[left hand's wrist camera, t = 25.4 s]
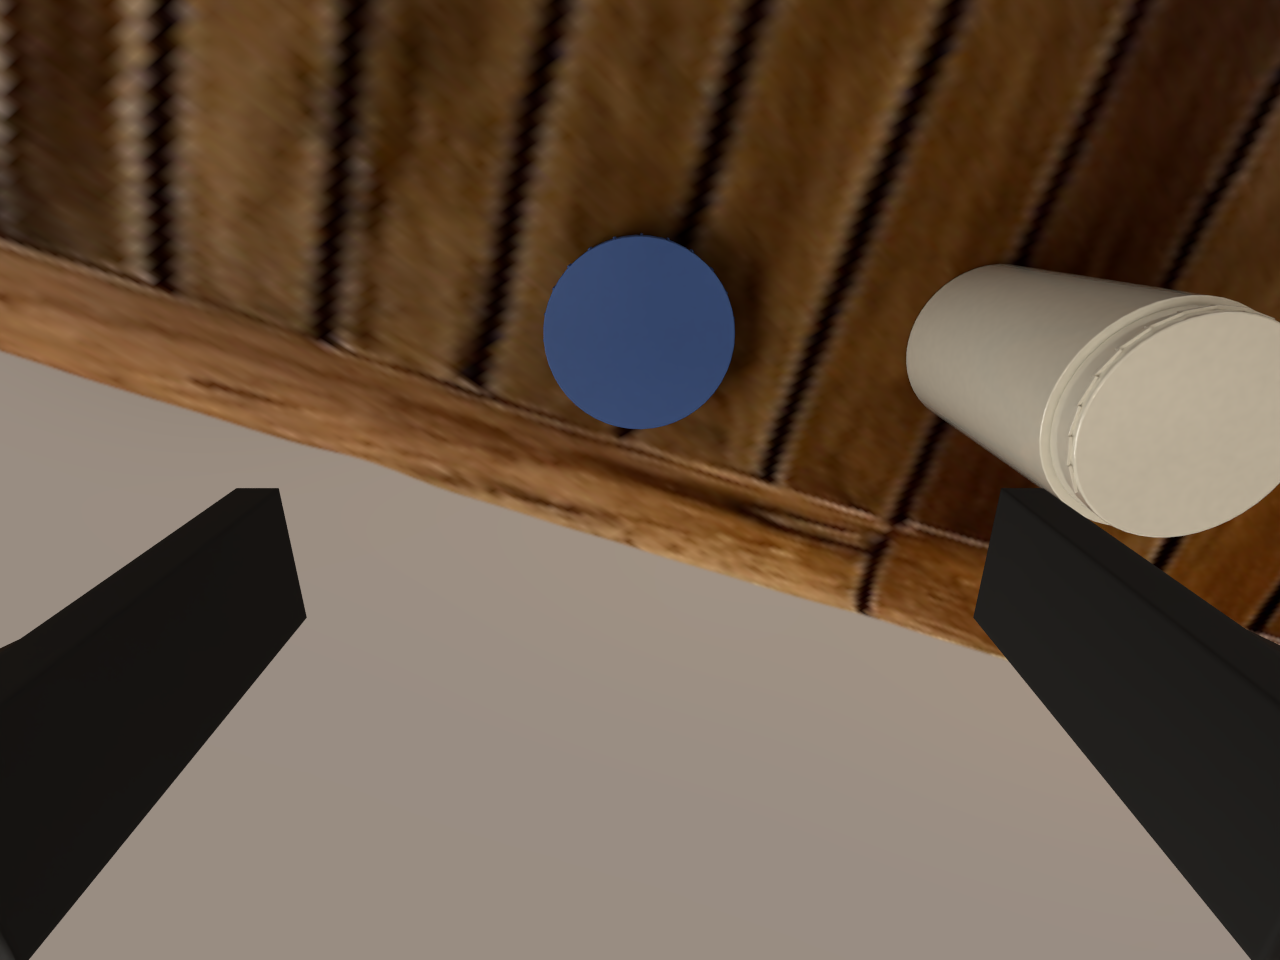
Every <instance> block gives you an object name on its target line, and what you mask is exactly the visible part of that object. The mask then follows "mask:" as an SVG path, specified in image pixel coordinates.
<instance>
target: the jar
mask: <svg viewBox="0 0 1280 960" xmlns="http://www.w3.org/2000/svg"><path fill="white" fill-rule="evenodd" d="M906 364H907V372H908V376H909V380H910V383H911V385H912V388H913V390H914V392H915V393H916V395H917V397H918V398H919V400H920V401H921V402H922V403H923V404H924V405H925V406H926V407H927V408H928V409H929V410H930V411H932V412H933V413H934V414H936V415H937V416H939V417H940V418H942V419H943V420H944V421H946V422H947V423H949V424H950V425H952V426H953V427H954V428H956V429H957V430H959V431H960V432H962V433H963V434H964V435H966V436H967V437H969V438H970V439H971V440H973V441H974V442H976V443H977V444H979V445H980V446H981V447H983V448H984V449H986V450H987V451H989V452H990V453H991V454H993V455H994V456H996V457H997V458H999V459H1000V460H1001V461H1003V462H1004V463H1006V464H1007V465H1009V466H1010V467H1011V468H1013V469H1014V470H1016V471H1017V472H1019V473H1020V474H1021V475H1023V476H1024V477H1026V478H1027V479H1029V480H1030V481H1031V482H1033V483H1034V484H1036V485H1037V486H1039V487H1040V488H1044V489H1045V490H1047V491H1048V492H1050V493H1051V494H1052V495H1054V496H1055V497H1057V498H1058V499H1060V500H1061V501H1062V502H1064V503H1065V504H1067V505H1068V506H1070V507H1071V508H1073V509H1074V510H1075V511H1077V512H1078V513H1080V514H1081V515H1083V516H1084V517H1085V518H1088V519H1090V520H1092V521H1095V522H1099V523H1103V524H1106V525H1111V526H1113V527H1115V528H1118V529H1120V530H1122V531H1125V532H1128V533H1132V534H1135V535H1140V536H1148V537H1175V536H1184V535H1188V534H1193V533H1197V532H1201V531H1204V530H1207V529H1210V528H1213V527H1215V526H1218V525H1220V524H1222V523H1225V522H1227V521H1229V520H1231V519H1233V518H1234V517H1236V516H1238V515H1240V514H1242V513H1243V512H1245V511H1246V510H1248V509H1249V508H1251V507H1252V506H1254V505H1255V504H1257V503H1258V502H1259V501H1260V500H1262V499H1263V498H1264V497H1265V496H1266V495H1268V494H1269V493H1270V492H1271V491H1272V490H1273V489H1274V488H1275V487H1276V486H1277V485H1278V484H1279V483H1280V322H1278V321H1276V320H1275V318H1272V317H1270V316H1267V315H1265V314H1262V313H1259V312H1257V311H1254V310H1253V309H1251V308H1249V307H1247V306H1245V305H1243V304H1241V303H1239V302H1237V301H1233V300H1230V299H1227V298H1223V297H1217V296H1211V295H1204V294H1198V293H1191V292H1185V291H1178V290H1172V289H1165V288H1159V287H1153V286H1146V285H1140V284H1133V283H1127V282H1120V281H1114V280H1107V279H1101V278H1095V277H1088V276H1082V275H1075V274H1069V273H1062V272H1056V271H1049V270H1043V269H1037V268H1030V267H1024V266H1017V265H1010V264H996V265H988V266H984V267H980V268H976V269H973V270H971V271H968V272H966V273H964V274H962V275H960V276H958V277H956V278H955V279H953V280H952V281H950V282H949V283H947V284H946V285H945V286H943V287H942V288H941V289H940V290H939V291H938V292H937V293H936V294H935V295H934V296H933V297H932V298H931V299H930V300H929V301H928V302H927V304H926V305H925V307H924V308H923V309H922V311H921V312H920V314H919V316H918V318H917V319H916V321H915V324H914V326H913V328H912V331H911V334H910V338H909V341H908V347H907V358H906Z"/></svg>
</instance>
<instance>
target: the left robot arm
mask: <svg viewBox="0 0 1280 960" xmlns="http://www.w3.org/2000/svg"><path fill="white" fill-rule="evenodd" d="M973 618H974V619H975V620H976V621H977V623H978V624H979V625H980V626H981V628H982V629H983V630H984V631H985V632H986V634H987V635H988V636H989V637H990V639H991V640H992V641H993V642H994V644H995V645H996V646H997V647H998V648H999V650H1000V651H1001V652H1002V653H1003V655H1004V656H1005V657H1006V658H1007V660H1008V661H1009V662H1010V663H1011V664H1012V666H1013V667H1014V668H1015V669H1016V671H1017V672H1018V673H1019V674H1020V676H1021V677H1022V678H1023V679H1024V680H1025V682H1026V683H1027V684H1028V685H1029V687H1030V688H1031V689H1032V690H1033V692H1034V693H1035V694H1036V695H1037V696H1038V698H1039V699H1040V700H1041V701H1042V703H1043V704H1044V705H1045V706H1046V708H1047V709H1048V710H1049V711H1050V712H1051V714H1052V715H1053V716H1054V717H1055V719H1056V720H1057V721H1058V722H1059V724H1060V725H1061V726H1062V727H1063V729H1064V730H1065V731H1066V732H1067V733H1068V735H1069V736H1070V737H1071V738H1072V740H1073V741H1074V742H1075V743H1076V744H1077V746H1078V747H1079V748H1080V749H1081V751H1082V752H1083V753H1084V754H1085V755H1086V757H1087V758H1088V759H1089V760H1090V762H1091V763H1092V764H1093V765H1094V767H1095V768H1096V769H1097V770H1098V772H1099V773H1100V774H1101V775H1102V777H1103V778H1104V779H1105V780H1106V781H1107V783H1108V784H1109V785H1110V786H1111V788H1112V789H1113V790H1114V791H1115V793H1116V794H1117V795H1118V796H1119V797H1120V799H1121V800H1122V801H1123V802H1124V804H1125V805H1126V806H1127V807H1128V809H1129V810H1130V811H1131V812H1132V813H1133V815H1134V816H1135V817H1136V818H1137V820H1138V821H1139V822H1140V823H1141V825H1142V826H1143V827H1144V828H1145V829H1146V831H1147V832H1148V833H1149V834H1150V836H1151V837H1152V838H1153V839H1154V841H1155V842H1156V843H1157V844H1158V845H1159V847H1160V848H1161V849H1162V850H1163V852H1164V853H1165V854H1166V855H1167V857H1168V858H1169V859H1170V860H1171V861H1172V863H1173V864H1174V865H1175V866H1176V868H1177V869H1178V870H1179V871H1180V873H1181V874H1182V875H1183V876H1184V878H1185V879H1186V880H1187V881H1188V882H1189V884H1190V885H1191V886H1192V887H1193V889H1194V890H1195V891H1196V892H1197V894H1198V895H1199V896H1200V897H1201V898H1202V900H1203V901H1204V902H1205V903H1206V904H1207V906H1208V907H1209V908H1210V909H1211V911H1212V912H1213V913H1214V914H1215V916H1216V917H1217V918H1218V919H1219V921H1220V922H1221V923H1222V924H1223V926H1224V927H1225V928H1226V929H1227V930H1228V932H1229V933H1230V934H1231V935H1232V937H1233V938H1234V939H1235V940H1236V942H1237V943H1238V944H1239V945H1240V946H1241V948H1242V949H1243V950H1244V951H1245V953H1246V954H1247V955H1248V956H1249V958H1250V959H1251V960H1280V645H1278V644H1276V643H1274V642H1272V641H1270V640H1267V639H1265V638H1263V637H1261V636H1259V635H1257V634H1255V633H1253V632H1250V631H1248V630H1246V629H1245V628H1243V627H1242V626H1240V625H1239V624H1237V623H1236V622H1235V621H1233V620H1232V619H1230V618H1229V617H1227V616H1226V615H1225V614H1223V613H1222V612H1220V611H1219V610H1217V609H1216V608H1215V607H1213V606H1212V605H1210V604H1209V603H1207V602H1206V601H1204V600H1203V599H1202V598H1200V597H1199V596H1197V595H1196V594H1194V593H1193V592H1192V591H1190V590H1189V589H1187V588H1186V587H1184V586H1183V585H1182V584H1180V583H1179V582H1177V581H1176V580H1174V579H1173V578H1171V577H1170V576H1169V575H1167V574H1166V573H1164V572H1163V571H1161V570H1160V569H1159V568H1157V567H1156V566H1154V565H1153V564H1151V563H1150V562H1149V561H1147V560H1146V559H1144V558H1143V557H1141V556H1140V555H1139V554H1137V553H1136V552H1134V551H1133V550H1131V549H1130V548H1128V547H1127V546H1126V545H1124V544H1123V543H1121V542H1120V541H1118V540H1117V539H1116V538H1114V537H1113V536H1111V535H1110V534H1108V533H1107V532H1106V531H1104V530H1103V529H1101V528H1100V527H1098V526H1097V525H1095V524H1094V523H1093V522H1091V521H1090V520H1088V519H1087V518H1085V517H1084V516H1083V515H1081V514H1080V513H1078V512H1077V511H1075V510H1074V509H1073V508H1071V507H1070V506H1068V505H1067V504H1065V503H1064V502H1062V501H1061V500H1060V499H1058V498H1057V497H1055V496H1054V495H1052V494H1051V493H1050V492H1048V491H1047V490H1045V489H1044V488H1001V492H1000V497H999V502H998V506H997V511H996V515H995V520H994V525H993V529H992V534H991V539H990V543H989V548H988V552H987V557H986V562H985V566H984V571H983V576H982V580H981V585H980V589H979V594H978V599H977V603H976V608H975V613H974V617H973ZM305 619H306V613H305V608H304V603H303V599H302V594H301V589H300V585H299V580H298V576H297V571H296V566H295V562H294V557H293V553H292V548H291V543H290V539H289V534H288V529H287V525H286V520H285V516H284V511H283V506H282V502H281V497H280V492H279V489H278V488H236V489H235V490H233V491H232V492H230V493H229V494H228V495H226V496H225V497H223V498H222V499H220V500H219V501H218V502H216V503H215V504H213V505H212V506H210V507H209V508H207V509H206V510H205V511H203V512H202V513H200V514H199V515H197V516H196V517H195V518H193V519H192V520H190V521H189V522H187V523H186V524H185V525H183V526H182V527H180V528H179V529H177V530H176V531H175V532H173V533H172V534H170V535H169V536H167V537H166V538H165V539H163V540H162V541H160V542H159V543H157V544H156V545H154V546H153V547H152V548H150V549H149V550H147V551H146V552H144V553H143V554H142V555H140V556H139V557H137V558H136V559H134V560H133V561H132V562H130V563H129V564H127V565H126V566H124V567H123V568H121V569H120V570H119V571H117V572H116V573H114V574H113V575H111V576H110V577H109V578H107V579H106V580H104V581H103V582H101V583H100V584H98V585H97V586H96V587H94V588H93V589H91V590H90V591H88V592H87V593H86V594H84V595H83V596H81V597H80V598H78V599H77V600H76V601H74V602H73V603H71V604H70V605H68V606H67V607H65V608H64V609H63V610H61V611H60V612H58V613H57V614H55V615H54V616H53V617H51V618H50V619H48V620H47V621H45V622H44V623H43V624H41V625H40V626H38V627H37V628H35V629H34V630H32V631H31V632H30V633H28V634H27V635H25V636H24V637H22V638H21V639H19V640H17V641H15V642H13V643H11V644H8V645H6V646H4V647H2V648H0V960H29V959H30V958H31V956H32V955H33V954H34V953H35V951H36V950H37V949H38V948H39V946H40V945H41V944H42V943H43V942H44V940H45V939H46V938H47V937H48V935H49V934H50V933H51V932H52V930H53V929H54V928H55V927H56V925H57V924H58V923H59V922H60V921H61V919H62V918H63V917H64V916H65V914H66V913H67V912H68V911H69V910H70V908H71V907H72V906H73V905H74V903H75V902H76V901H77V900H78V898H79V897H80V896H81V895H82V893H83V892H84V891H85V890H86V889H87V887H88V886H89V885H90V884H91V882H92V881H93V880H94V879H95V877H96V876H97V875H98V874H99V872H100V871H101V870H102V869H103V868H104V866H105V865H106V864H107V863H108V861H109V860H110V859H111V858H112V857H113V855H114V854H115V853H116V852H117V850H118V849H119V848H120V847H121V845H122V844H123V843H124V842H125V841H126V839H127V838H128V837H129V836H130V834H131V833H132V832H133V831H134V829H135V828H136V827H137V826H138V825H139V823H140V822H141V821H142V820H143V818H144V817H145V816H146V815H147V813H148V812H149V811H150V810H151V809H152V807H153V806H154V805H155V804H156V802H157V801H158V800H159V799H160V797H161V796H162V795H163V794H164V793H165V791H166V790H167V789H168V788H169V786H170V785H171V784H172V783H173V781H174V780H175V779H176V778H177V777H178V775H179V774H180V773H181V772H182V770H183V769H184V768H185V767H186V765H187V764H188V763H189V762H190V761H191V759H192V758H193V757H194V756H195V754H196V753H197V752H198V751H199V749H200V748H201V747H202V746H203V745H204V743H205V742H206V741H207V740H208V738H209V737H210V736H211V735H212V733H213V732H214V731H215V730H216V728H217V727H218V726H219V725H220V724H221V722H222V721H223V720H224V719H225V717H226V716H227V715H228V714H229V712H230V711H231V710H232V709H233V708H234V706H235V705H236V704H237V703H238V701H239V700H240V699H241V698H242V696H243V695H244V694H245V693H246V692H247V690H248V689H249V688H250V687H251V685H252V684H253V683H254V682H255V680H256V679H257V678H258V677H259V675H260V674H261V673H262V672H263V671H264V669H265V668H266V667H267V666H268V664H269V663H270V662H271V661H272V660H273V658H274V657H275V656H276V655H277V653H278V652H279V651H280V650H281V648H282V647H283V646H284V645H285V643H286V642H287V641H288V640H289V639H290V637H291V636H292V635H293V634H294V632H295V631H296V630H297V629H298V628H299V626H300V625H301V624H302V623H303V621H304V620H305Z"/></svg>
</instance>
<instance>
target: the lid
mask: <svg viewBox="0 0 1280 960" xmlns="http://www.w3.org/2000/svg"><path fill="white" fill-rule="evenodd" d="M567 267H568V269H567V270H566V271H565V272H564V274H563V275H562V276H561V278H560V279H559V281H558V283H557V284H556V286H554V287H553V289H552V290H553V292H552V294H551V297H550V299H549V302H548V305H547V309H546V312H545V314H544V315H545V320H544V340H543V341H544V345H545V352H546V356H547V360H548V363H549V366H550V368H551V371H552V373H553V376H554V377H555V379H556V381H557V383H558V384H559V386H560V387H561V389H562V390H563V391H564V393H565V394H566V395H567V396H568V397H569V398H570V399H571V400H572V402H573V403H574V404H575V405H577V406H578V407H579V408H580V409H582V410H583V411H584V412H586V413H587V414H589V415H591V416H592V417H594V418H596V419H598V420H600V421H603V422H605V423H607V424H611V425H614V426H617V427H623V428H629V429H648V428H656V427H660V426H665V425H668V424H671V423H674V422H676V421H678V420H680V419H682V418H684V417H686V416H688V415H690V414H691V413H693V412H694V411H696V410H697V409H698V408H699V407H700V406H702V405H703V404H704V403H705V402H706V401H707V400H708V399H709V398H710V397H711V396H712V395H713V393H714V392H715V391H716V389H717V388H718V386H719V385H720V383H721V382H722V380H723V378H724V376H725V374H726V372H727V370H728V367H729V364H730V361H731V358H732V353H733V349H734V345H735V344H734V340H735V324H734V319H735V318H734V316H733V311H732V307H731V304H730V301H729V298H728V296H727V294H728V293H727V291H726V290H725V289H724V287H723V285H722V284H721V282H720V280H719V279H718V277H717V276H716V274H715V273H714V272H713V271H714V269H713V268H712V267H709V266H708V265H707V264H706V263H705V262H704V261H703V260H701V259H700V258H699V257H698V256H697V255H696V254H694V251H693V250H692V249H690V250H688V249H687V248H686V247H684V246H682V245H680V244H678V243H676V242H673V241H670V240H669V238H666V239H664V238H661V237H656V236H650V235H642V233H640V235H630V236H622V237H618V238H616V236H615V237H613V239H611V240H608V241H605V242H603V243H600V244H599V245H597V246H595V247H593V248H592V247H590V248H588V251H587V252H586V253H584V254H583V255H582V256H580V257H579V258H578V259H577V260H576V261H575V262H574V263H573V264H569V265H568V266H567Z"/></svg>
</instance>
